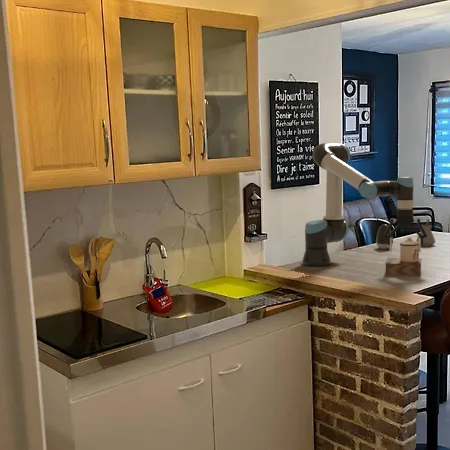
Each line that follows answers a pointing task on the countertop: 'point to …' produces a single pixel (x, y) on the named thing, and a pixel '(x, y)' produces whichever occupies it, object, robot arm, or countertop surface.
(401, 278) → the countertop surface
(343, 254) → the countertop surface
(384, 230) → the brown egg-shaped piece
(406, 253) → the teacup with lid
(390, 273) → the walnut box
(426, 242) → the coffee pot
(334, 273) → the countertop surface
